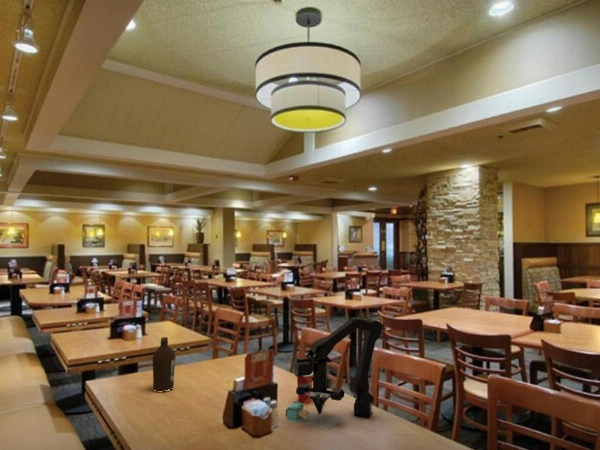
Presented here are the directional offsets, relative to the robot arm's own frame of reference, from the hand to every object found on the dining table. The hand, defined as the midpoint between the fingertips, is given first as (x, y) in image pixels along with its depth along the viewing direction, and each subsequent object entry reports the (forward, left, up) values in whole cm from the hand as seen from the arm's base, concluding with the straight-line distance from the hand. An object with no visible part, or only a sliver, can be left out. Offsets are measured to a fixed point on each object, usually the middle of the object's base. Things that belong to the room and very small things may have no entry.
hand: (320, 413), depth 167 cm
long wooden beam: (+10, 0, -3) cm, 10 cm away
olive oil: (+84, -5, -3) cm, 84 cm away
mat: (+3, 0, -3) cm, 4 cm away
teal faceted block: (+11, 0, -3) cm, 11 cm away
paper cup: (+14, -17, -3) cm, 22 cm away
